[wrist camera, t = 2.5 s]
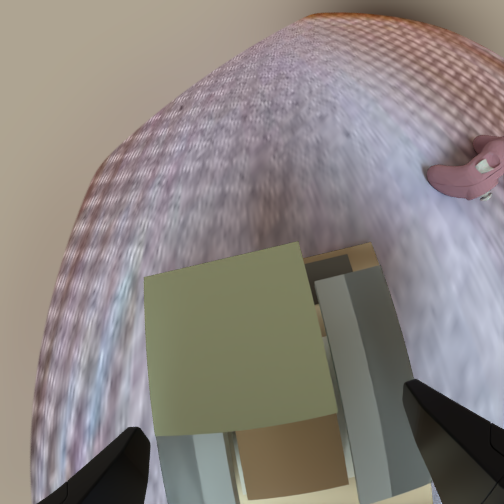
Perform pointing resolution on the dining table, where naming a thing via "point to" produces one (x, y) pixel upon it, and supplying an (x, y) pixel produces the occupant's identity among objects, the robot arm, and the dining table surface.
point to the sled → (248, 369)
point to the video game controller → (472, 171)
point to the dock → (352, 399)
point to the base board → (317, 268)
